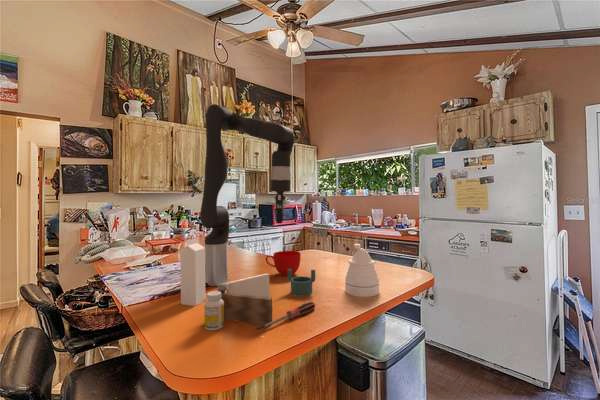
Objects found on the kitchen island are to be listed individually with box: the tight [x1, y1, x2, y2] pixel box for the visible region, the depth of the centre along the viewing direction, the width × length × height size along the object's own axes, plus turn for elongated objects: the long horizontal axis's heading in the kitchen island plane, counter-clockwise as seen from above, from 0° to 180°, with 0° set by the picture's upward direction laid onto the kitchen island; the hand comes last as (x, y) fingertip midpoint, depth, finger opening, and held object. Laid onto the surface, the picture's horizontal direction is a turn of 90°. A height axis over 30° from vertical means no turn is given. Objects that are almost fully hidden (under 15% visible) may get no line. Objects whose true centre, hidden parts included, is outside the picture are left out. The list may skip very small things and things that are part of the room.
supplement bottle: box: [203, 290, 225, 332], centre depth 83 cm, size 5×5×10 cm
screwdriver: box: [254, 301, 316, 331], centre depth 87 cm, size 25×3×3 cm, turn 137°
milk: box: [179, 238, 207, 307], centre depth 103 cm, size 6×6×22 cm
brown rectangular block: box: [219, 291, 273, 327], centre depth 88 cm, size 19×4×8 cm, turn 71°
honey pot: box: [344, 243, 380, 298], centre depth 113 cm, size 13×13×18 cm
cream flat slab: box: [216, 272, 271, 298], centre depth 97 cm, size 19×3×9 cm, turn 133°
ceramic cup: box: [265, 250, 302, 277], centre depth 139 cm, size 13×17×10 cm
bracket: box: [287, 269, 316, 297], centre depth 113 cm, size 9×9×9 cm
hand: (279, 222), depth 110 cm, fingers open, 8 cm apart
